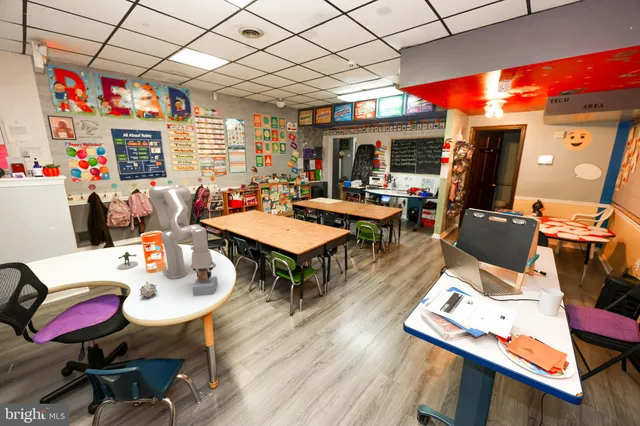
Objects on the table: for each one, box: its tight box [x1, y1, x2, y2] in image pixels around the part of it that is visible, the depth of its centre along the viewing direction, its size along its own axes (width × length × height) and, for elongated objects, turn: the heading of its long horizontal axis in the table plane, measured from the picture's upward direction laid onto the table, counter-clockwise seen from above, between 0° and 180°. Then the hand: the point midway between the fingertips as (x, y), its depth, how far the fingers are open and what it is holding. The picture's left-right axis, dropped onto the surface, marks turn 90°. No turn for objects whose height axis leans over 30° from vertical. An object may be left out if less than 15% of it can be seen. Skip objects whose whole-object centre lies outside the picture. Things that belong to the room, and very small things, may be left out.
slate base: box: [191, 275, 219, 297], centre depth 148 cm, size 11×11×6 cm
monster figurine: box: [116, 251, 139, 271], centre depth 179 cm, size 12×12×10 cm
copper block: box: [196, 268, 208, 281], centre depth 146 cm, size 5×5×6 cm
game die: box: [138, 281, 157, 299], centre depth 142 cm, size 9×8×10 cm
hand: (204, 277), depth 147 cm, fingers closed on copper block, 4 cm apart
